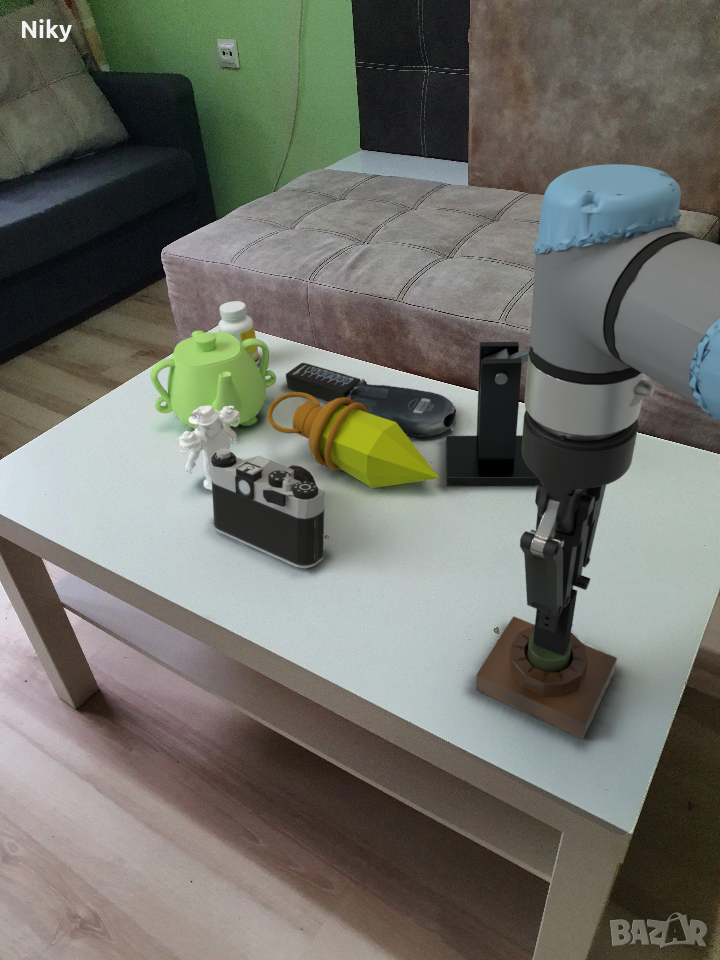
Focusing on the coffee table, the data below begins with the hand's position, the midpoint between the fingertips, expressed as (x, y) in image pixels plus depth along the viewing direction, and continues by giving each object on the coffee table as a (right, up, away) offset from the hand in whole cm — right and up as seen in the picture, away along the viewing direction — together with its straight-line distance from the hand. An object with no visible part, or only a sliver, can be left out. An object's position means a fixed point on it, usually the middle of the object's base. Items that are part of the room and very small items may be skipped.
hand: (551, 643), depth 65 cm
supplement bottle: (-35, +33, +55) cm, 73 cm away
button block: (0, -4, +3) cm, 5 cm away
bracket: (0, +16, +30) cm, 34 cm away
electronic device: (-11, +22, +40) cm, 47 cm away
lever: (+6, +28, +20) cm, 35 cm away
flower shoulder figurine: (-34, +14, +31) cm, 48 cm away
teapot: (-36, +23, +42) cm, 60 cm away
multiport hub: (-22, +27, +47) cm, 59 cm away
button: (0, -2, +1) cm, 2 cm away
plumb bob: (-17, +16, +31) cm, 39 cm away
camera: (-25, +9, +23) cm, 35 cm away
